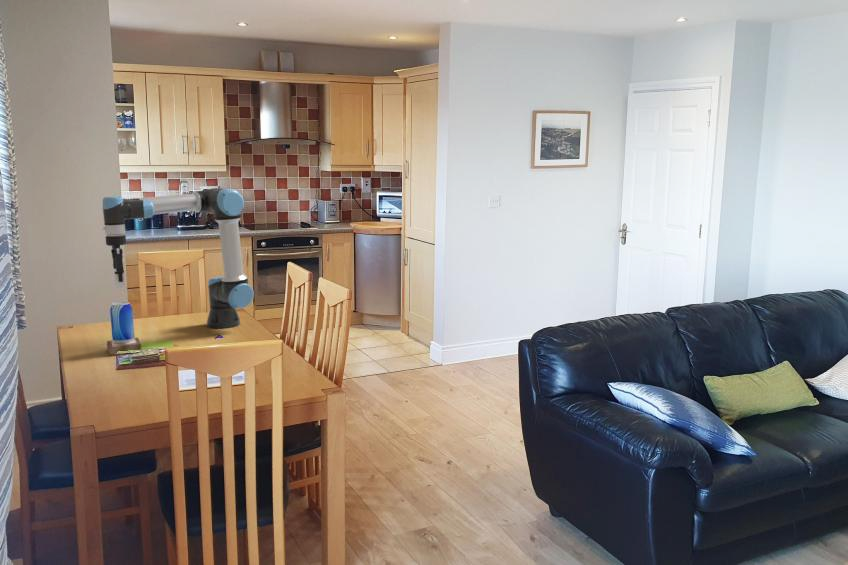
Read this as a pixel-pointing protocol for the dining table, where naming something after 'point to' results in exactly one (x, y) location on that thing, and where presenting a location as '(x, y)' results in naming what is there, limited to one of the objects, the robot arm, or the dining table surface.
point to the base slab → (122, 346)
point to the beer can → (122, 322)
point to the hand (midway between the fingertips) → (119, 287)
